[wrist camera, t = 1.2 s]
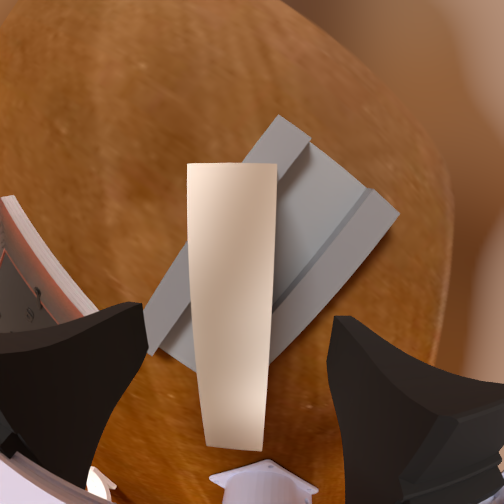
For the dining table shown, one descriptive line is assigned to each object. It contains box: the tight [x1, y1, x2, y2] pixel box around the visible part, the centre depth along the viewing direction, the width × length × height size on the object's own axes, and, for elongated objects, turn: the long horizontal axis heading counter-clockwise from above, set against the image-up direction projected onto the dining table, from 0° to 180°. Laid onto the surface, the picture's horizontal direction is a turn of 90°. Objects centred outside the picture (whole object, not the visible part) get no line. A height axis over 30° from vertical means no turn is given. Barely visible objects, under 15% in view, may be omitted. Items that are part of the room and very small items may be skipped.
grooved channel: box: [143, 115, 400, 373], centre depth 16 cm, size 8×16×2 cm, turn 144°
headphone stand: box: [86, 466, 117, 501], centre depth 21 cm, size 5×6×12 cm
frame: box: [187, 163, 277, 451], centre depth 12 cm, size 3×12×6 cm, turn 179°
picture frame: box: [0, 195, 99, 333], centre depth 20 cm, size 16×2×22 cm
